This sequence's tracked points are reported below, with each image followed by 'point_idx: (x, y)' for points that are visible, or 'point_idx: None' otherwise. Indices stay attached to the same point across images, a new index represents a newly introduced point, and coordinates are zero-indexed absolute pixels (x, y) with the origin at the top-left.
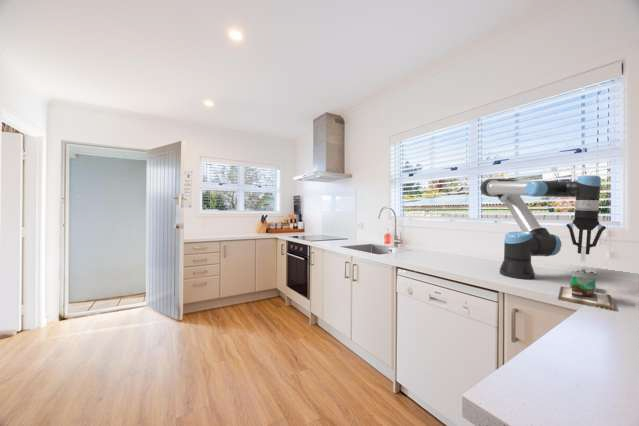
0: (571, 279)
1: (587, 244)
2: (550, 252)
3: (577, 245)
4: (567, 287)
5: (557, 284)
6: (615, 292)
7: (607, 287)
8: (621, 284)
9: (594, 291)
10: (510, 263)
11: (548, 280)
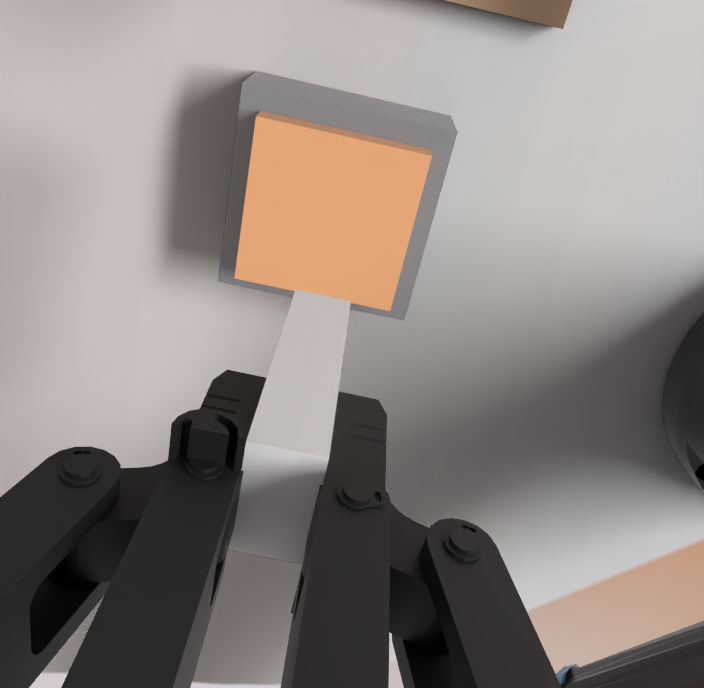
0: (415, 259)
1: (205, 500)
2: (586, 681)
3: (393, 521)
4: (507, 7)
5: (530, 209)
6: (97, 202)
7: (134, 357)
8: None
9: (262, 75)
10: None
11: (563, 335)
